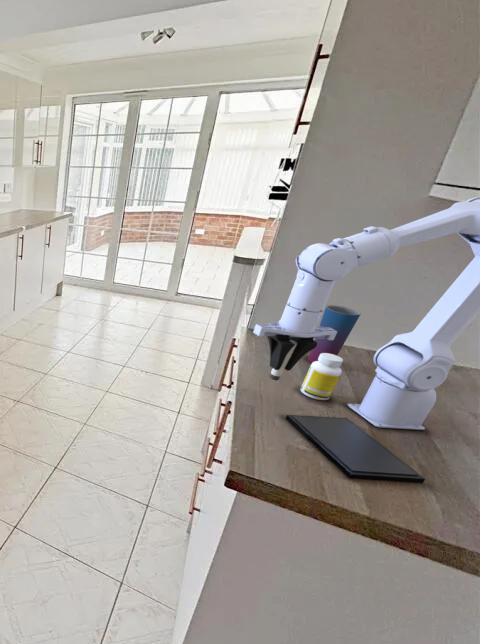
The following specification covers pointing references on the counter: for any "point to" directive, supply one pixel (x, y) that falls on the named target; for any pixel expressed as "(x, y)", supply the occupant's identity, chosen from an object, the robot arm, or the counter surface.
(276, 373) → the stylus
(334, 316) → the cup
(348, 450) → the tablet
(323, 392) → the supplement bottle
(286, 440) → the counter surface
